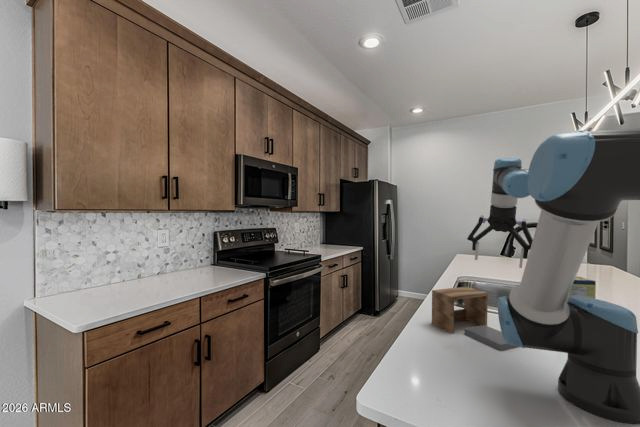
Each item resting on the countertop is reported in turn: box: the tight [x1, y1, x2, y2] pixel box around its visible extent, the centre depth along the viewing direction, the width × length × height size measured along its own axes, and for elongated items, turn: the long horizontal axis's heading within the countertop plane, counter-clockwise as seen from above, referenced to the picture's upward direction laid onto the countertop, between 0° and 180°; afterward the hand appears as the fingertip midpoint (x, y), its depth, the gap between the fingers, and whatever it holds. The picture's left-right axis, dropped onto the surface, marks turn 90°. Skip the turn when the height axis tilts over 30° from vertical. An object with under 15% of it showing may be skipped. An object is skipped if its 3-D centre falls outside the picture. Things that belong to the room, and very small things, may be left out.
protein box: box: [566, 275, 597, 302], centre depth 135 cm, size 10×16×16 cm
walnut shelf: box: [431, 286, 489, 334], centre depth 115 cm, size 10×18×13 cm, turn 112°
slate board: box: [463, 325, 520, 352], centre depth 102 cm, size 14×10×2 cm
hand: (497, 262), depth 105 cm, fingers open, 13 cm apart
